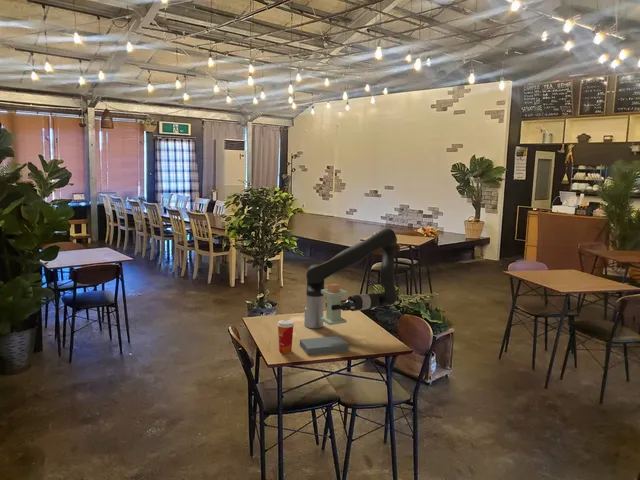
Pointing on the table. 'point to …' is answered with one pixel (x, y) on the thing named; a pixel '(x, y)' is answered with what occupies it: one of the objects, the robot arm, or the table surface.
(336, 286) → the cube
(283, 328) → the paper cup
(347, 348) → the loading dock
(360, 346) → the table surface
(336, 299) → the green pedestal
